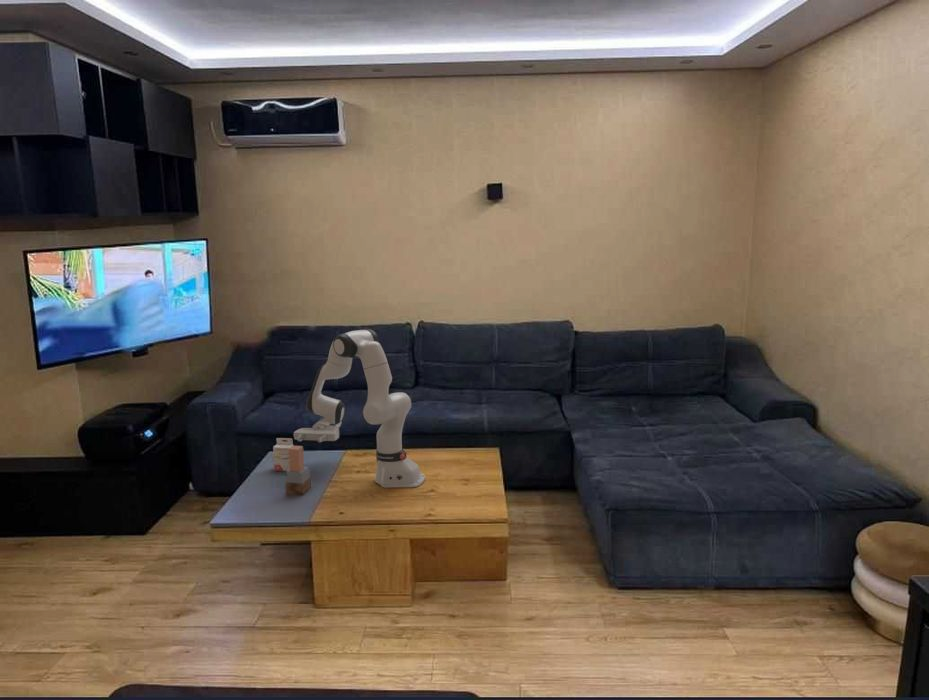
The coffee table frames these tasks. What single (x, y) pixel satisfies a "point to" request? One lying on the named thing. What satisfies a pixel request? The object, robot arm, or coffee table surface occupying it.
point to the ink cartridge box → (282, 454)
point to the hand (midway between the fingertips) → (308, 440)
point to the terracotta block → (296, 458)
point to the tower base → (298, 487)
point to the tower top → (298, 476)
